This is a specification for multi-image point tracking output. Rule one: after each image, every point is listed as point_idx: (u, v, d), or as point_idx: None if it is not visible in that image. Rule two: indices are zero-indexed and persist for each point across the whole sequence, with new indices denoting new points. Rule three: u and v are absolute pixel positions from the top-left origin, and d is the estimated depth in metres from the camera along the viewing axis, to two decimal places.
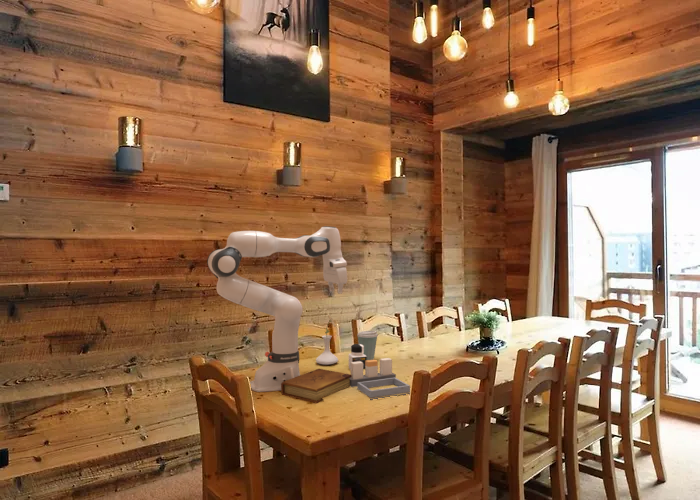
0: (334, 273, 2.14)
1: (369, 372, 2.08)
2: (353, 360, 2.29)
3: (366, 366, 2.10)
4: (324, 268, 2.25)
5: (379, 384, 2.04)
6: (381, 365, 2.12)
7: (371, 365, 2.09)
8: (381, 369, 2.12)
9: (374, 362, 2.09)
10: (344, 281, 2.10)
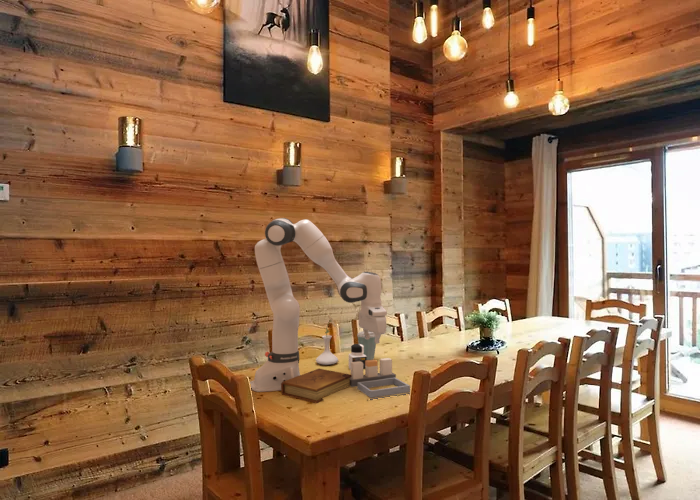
0: (372, 321, 2.05)
1: (369, 372, 2.08)
2: (353, 360, 2.29)
3: (366, 366, 2.10)
4: (360, 314, 2.16)
5: (379, 384, 2.04)
6: (381, 365, 2.12)
7: (371, 365, 2.09)
8: (381, 369, 2.12)
9: (374, 362, 2.09)
10: (383, 331, 2.01)
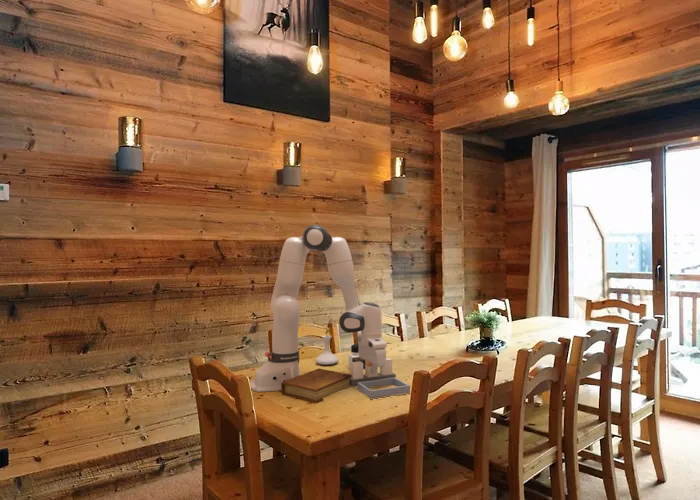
0: (372, 353, 2.06)
1: (369, 372, 2.08)
2: (353, 360, 2.29)
3: (366, 366, 2.10)
4: (360, 344, 2.16)
5: (379, 384, 2.04)
6: None
7: (371, 365, 2.09)
8: (381, 369, 2.12)
9: None
10: (382, 364, 2.01)
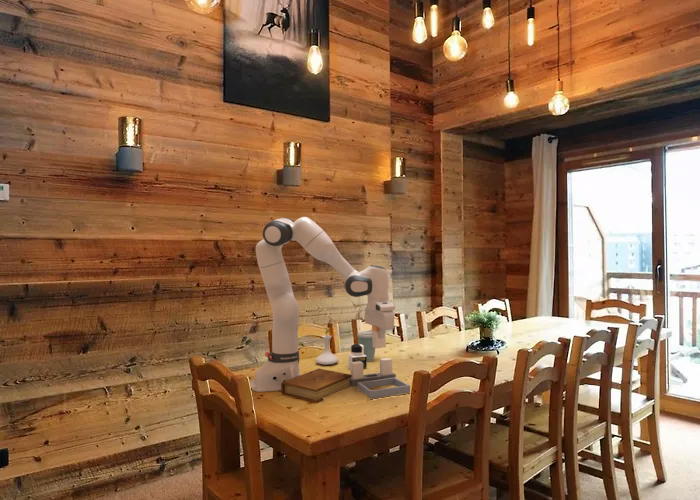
0: (379, 317, 1.98)
1: (376, 337, 2.01)
2: (353, 360, 2.29)
3: (373, 331, 2.02)
4: (366, 309, 2.09)
5: (379, 384, 2.04)
6: (381, 365, 2.12)
7: (378, 330, 2.01)
8: (381, 369, 2.12)
9: None
10: (391, 327, 1.94)
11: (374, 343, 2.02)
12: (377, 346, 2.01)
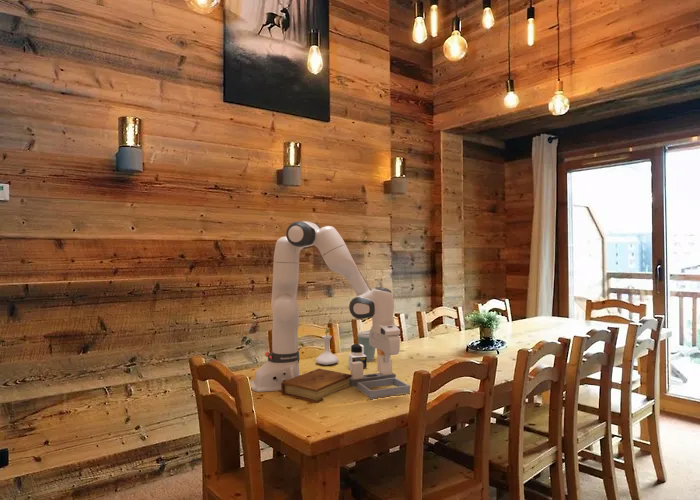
0: (384, 341, 1.93)
1: (381, 361, 1.96)
2: (353, 360, 2.29)
3: (378, 355, 1.97)
4: (371, 332, 2.03)
5: (379, 384, 2.04)
6: None
7: (383, 354, 1.96)
8: None
9: None
10: (396, 352, 1.89)
11: (379, 367, 1.97)
12: (382, 370, 1.96)
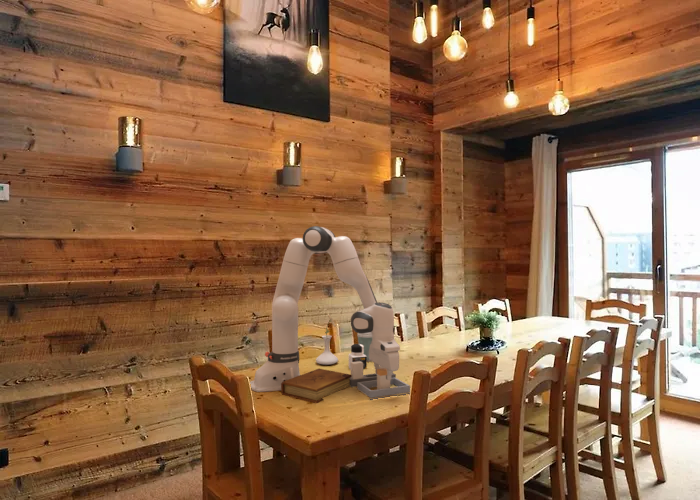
0: (384, 357, 1.93)
1: (381, 381, 1.96)
2: (353, 360, 2.29)
3: (378, 375, 1.98)
4: (371, 347, 2.04)
5: None
6: None
7: (383, 374, 1.96)
8: None
9: (386, 371, 1.97)
10: (396, 368, 1.89)
11: (378, 387, 1.97)
12: None
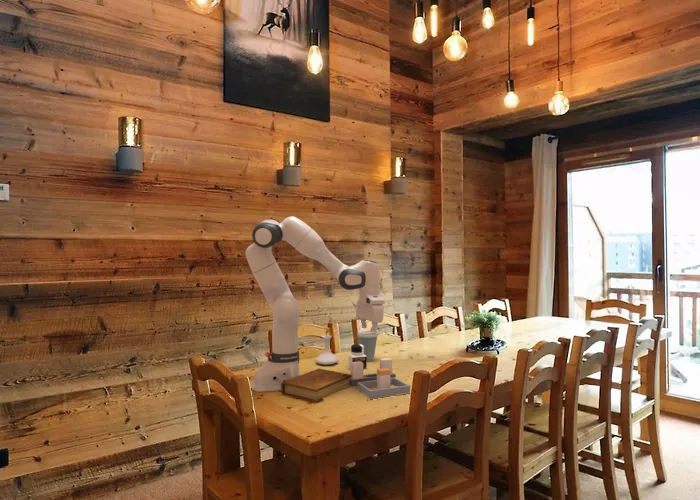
0: (370, 310, 2.04)
1: (381, 381, 1.96)
2: (353, 360, 2.29)
3: (378, 375, 1.97)
4: (358, 303, 2.14)
5: None
6: (381, 365, 2.12)
7: (383, 374, 1.96)
8: None
9: (386, 371, 1.97)
10: (380, 320, 1.99)
11: (378, 387, 1.97)
12: None
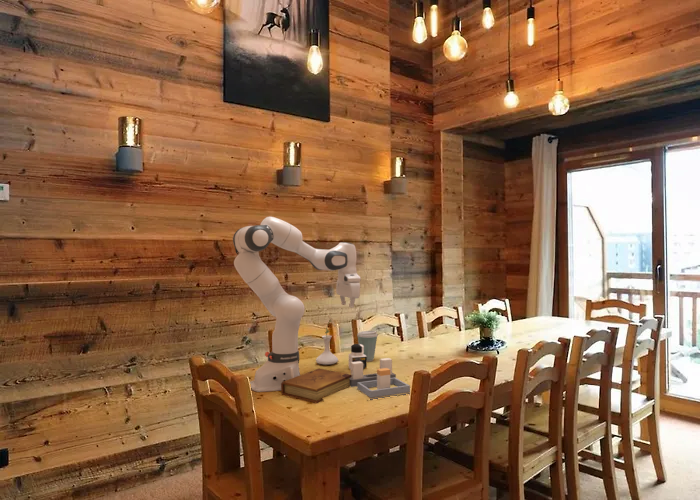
0: (347, 287, 2.24)
1: (381, 381, 1.96)
2: (353, 360, 2.29)
3: (378, 375, 1.97)
4: (338, 282, 2.34)
5: None
6: (381, 365, 2.12)
7: (383, 374, 1.96)
8: None
9: (386, 371, 1.97)
10: (357, 296, 2.20)
11: (378, 387, 1.97)
12: None
